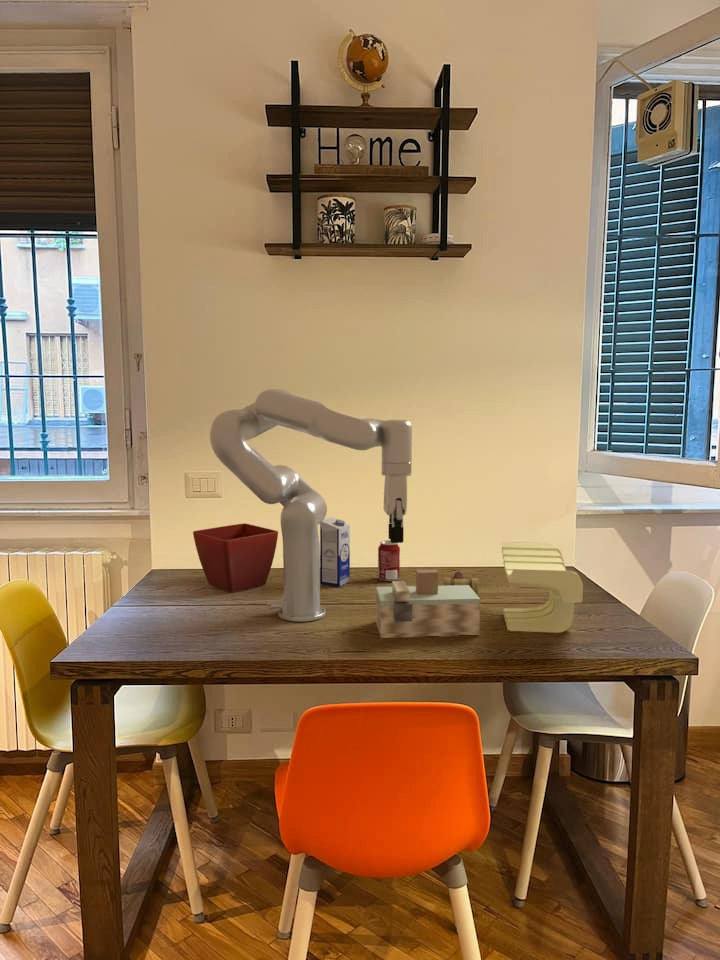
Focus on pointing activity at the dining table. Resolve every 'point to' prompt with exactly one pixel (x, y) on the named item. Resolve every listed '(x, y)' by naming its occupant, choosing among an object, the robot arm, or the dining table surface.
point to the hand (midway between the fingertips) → (395, 539)
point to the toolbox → (427, 619)
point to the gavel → (462, 581)
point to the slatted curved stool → (546, 571)
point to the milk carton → (334, 552)
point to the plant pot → (236, 555)
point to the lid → (431, 592)
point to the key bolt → (400, 591)
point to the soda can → (388, 561)
